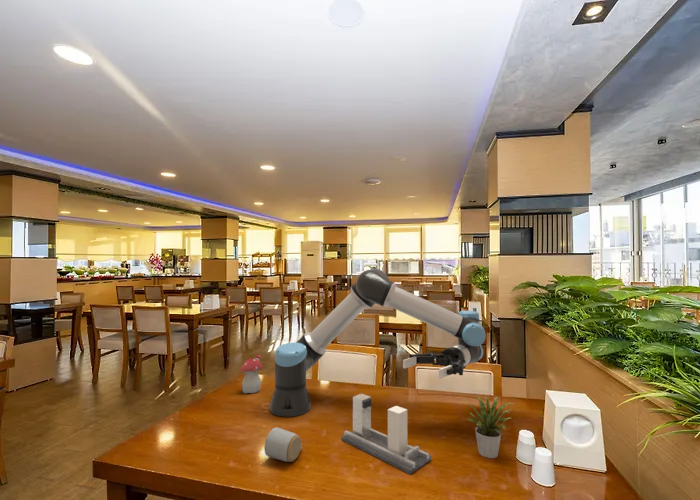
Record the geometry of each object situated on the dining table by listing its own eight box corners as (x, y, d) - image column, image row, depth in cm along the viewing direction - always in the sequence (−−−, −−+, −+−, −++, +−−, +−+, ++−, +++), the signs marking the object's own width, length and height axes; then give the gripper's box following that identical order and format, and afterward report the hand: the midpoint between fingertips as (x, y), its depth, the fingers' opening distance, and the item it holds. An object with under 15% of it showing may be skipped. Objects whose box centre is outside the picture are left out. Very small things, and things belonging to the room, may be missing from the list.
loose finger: (386, 451, 105) (386, 408, 105) (394, 446, 107) (394, 405, 108) (398, 457, 101) (398, 413, 102) (407, 452, 104) (407, 409, 105)
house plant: (531, 459, 102) (530, 400, 103) (499, 474, 95) (498, 410, 96) (488, 438, 114) (487, 385, 115) (457, 450, 107) (456, 393, 108)
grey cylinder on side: (288, 468, 98) (288, 439, 98) (263, 461, 101) (264, 433, 101) (308, 450, 107) (309, 424, 108) (285, 444, 111) (285, 419, 111)
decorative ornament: (261, 387, 160) (261, 353, 161) (263, 392, 154) (264, 356, 155) (239, 390, 157) (239, 355, 157) (240, 395, 151) (241, 358, 151)
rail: (341, 439, 113) (341, 397, 114) (363, 429, 120) (363, 389, 121) (410, 474, 95) (410, 423, 95) (431, 459, 102) (431, 412, 102)
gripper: (488, 376, 122) (456, 391, 107) (425, 360, 140) (390, 371, 125) (489, 353, 122) (456, 365, 107) (425, 340, 140) (390, 349, 125)
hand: (421, 368), depth 116 cm, fingers open, 13 cm apart
